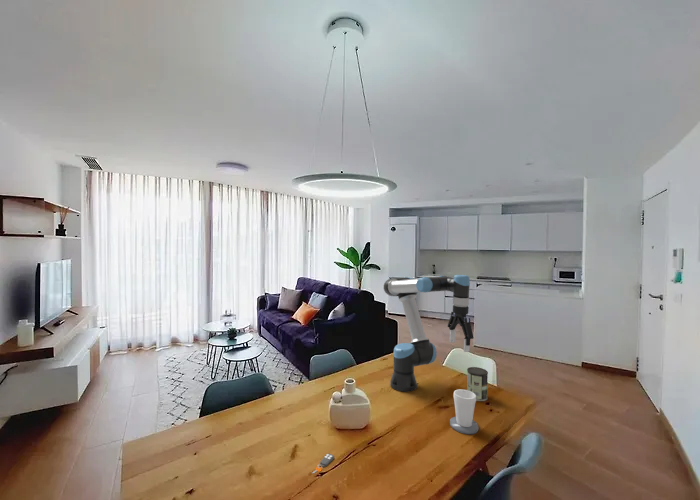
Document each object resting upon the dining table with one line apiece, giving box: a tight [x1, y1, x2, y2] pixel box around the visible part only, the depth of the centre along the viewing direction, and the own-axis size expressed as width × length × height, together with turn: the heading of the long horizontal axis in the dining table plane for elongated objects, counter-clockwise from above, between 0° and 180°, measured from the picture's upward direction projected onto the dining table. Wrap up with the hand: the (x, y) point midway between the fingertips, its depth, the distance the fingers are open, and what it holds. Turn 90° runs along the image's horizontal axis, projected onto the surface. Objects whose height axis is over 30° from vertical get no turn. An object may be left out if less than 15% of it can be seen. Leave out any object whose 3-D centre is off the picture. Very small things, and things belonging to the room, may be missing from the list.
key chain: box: [311, 453, 335, 474], centre depth 111 cm, size 13×4×2 cm, turn 151°
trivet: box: [449, 415, 479, 435], centre depth 137 cm, size 12×12×1 cm
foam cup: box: [453, 388, 477, 427], centre depth 137 cm, size 10×9×13 cm
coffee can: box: [466, 366, 489, 402], centre depth 165 cm, size 10×10×14 cm
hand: (459, 346), depth 156 cm, fingers open, 13 cm apart
